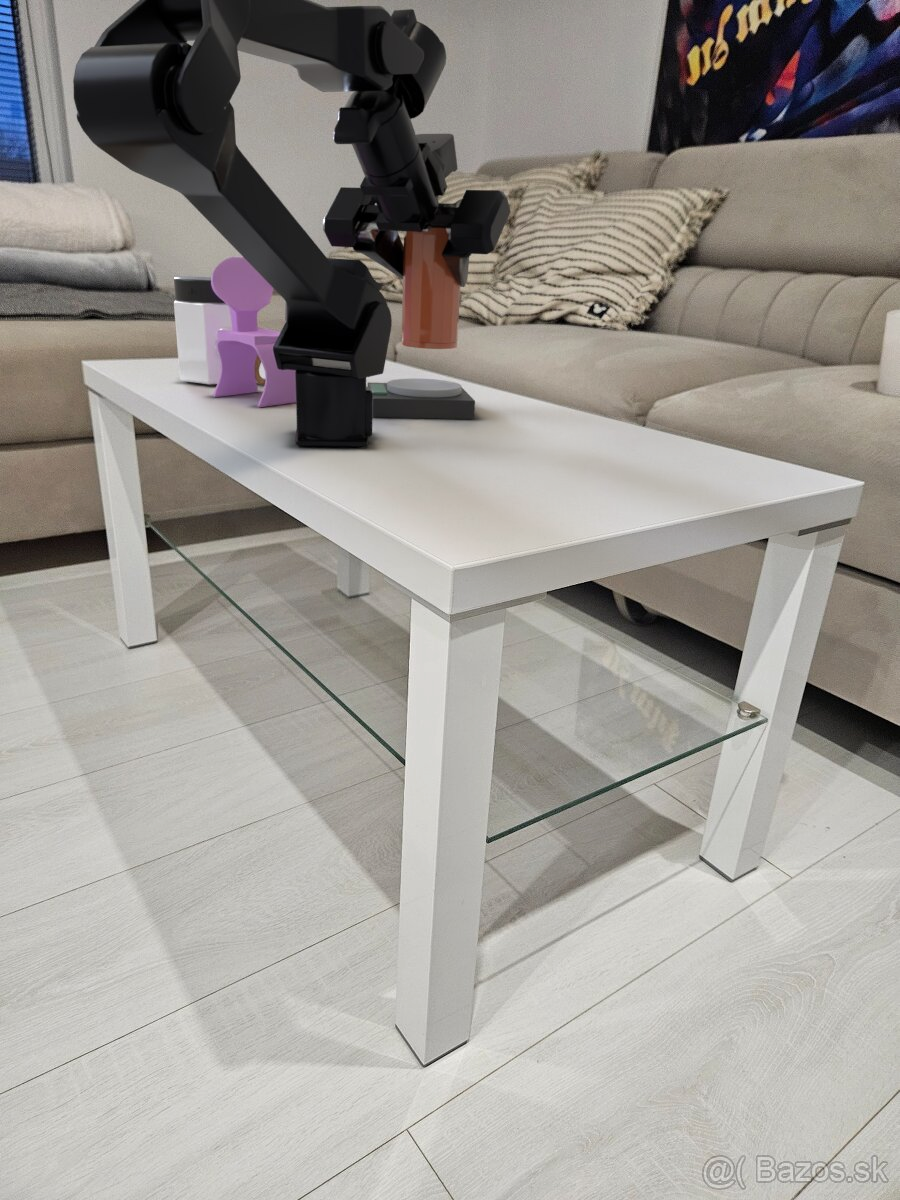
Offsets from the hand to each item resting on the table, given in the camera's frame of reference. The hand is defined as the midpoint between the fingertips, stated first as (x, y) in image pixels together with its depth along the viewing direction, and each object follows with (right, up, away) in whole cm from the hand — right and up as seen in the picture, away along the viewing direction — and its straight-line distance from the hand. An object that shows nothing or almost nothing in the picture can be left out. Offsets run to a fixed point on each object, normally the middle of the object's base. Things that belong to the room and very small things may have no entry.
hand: (437, 282), depth 90 cm
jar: (-29, -7, +16) cm, 33 cm away
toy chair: (-21, -12, +5) cm, 24 cm away
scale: (-2, -13, +4) cm, 14 cm away
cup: (-1, -6, +1) cm, 7 cm away
